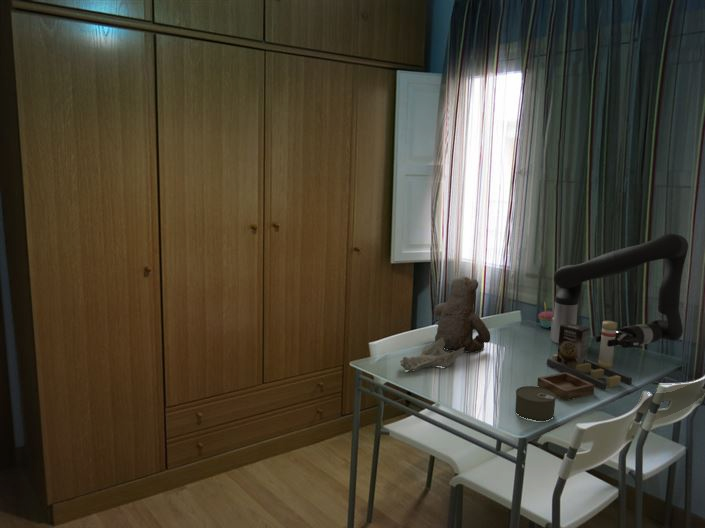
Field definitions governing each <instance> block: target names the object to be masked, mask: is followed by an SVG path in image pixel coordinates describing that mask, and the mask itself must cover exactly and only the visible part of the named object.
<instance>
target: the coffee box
mask: <svg viewBox="0 0 705 528" xmlns="http://www.w3.org/2000/svg"><path fill="white" fill-rule="evenodd" d="M590 329H591V328H590V327H588V326H587V327H586V326H582V325H578V324H576V325H575V324H571V323H566V324H562V325H560V332H559V343H557V345H558V346H557V353H556V354H557V362H559V363H562V364H564V365H566V366H569V367H571V368H573V369H576V365H579V364H584V363H586V359H587V357H588V348H589V347H588V346H589V337H590Z"/></svg>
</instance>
